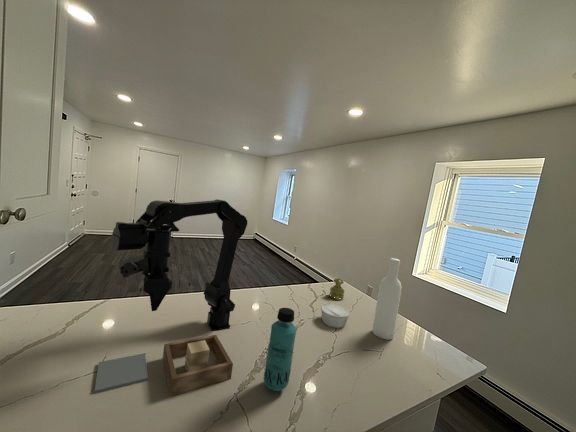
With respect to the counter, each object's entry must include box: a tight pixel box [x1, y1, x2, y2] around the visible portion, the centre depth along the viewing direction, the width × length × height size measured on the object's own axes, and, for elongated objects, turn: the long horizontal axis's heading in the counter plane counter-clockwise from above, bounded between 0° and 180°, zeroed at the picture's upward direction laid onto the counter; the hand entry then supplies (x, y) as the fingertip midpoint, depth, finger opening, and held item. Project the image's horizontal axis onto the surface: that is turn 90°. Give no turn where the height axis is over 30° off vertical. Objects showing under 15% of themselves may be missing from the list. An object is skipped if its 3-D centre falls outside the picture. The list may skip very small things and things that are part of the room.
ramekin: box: [321, 303, 350, 329], centre depth 102 cm, size 11×11×5 cm
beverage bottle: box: [263, 307, 297, 392], centre depth 62 cm, size 6×7×20 cm
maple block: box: [184, 340, 211, 373], centre depth 65 cm, size 4×4×6 cm
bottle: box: [372, 257, 403, 341], centre depth 97 cm, size 8×8×30 cm
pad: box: [94, 352, 149, 394], centre depth 60 cm, size 10×10×1 cm
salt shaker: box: [329, 278, 346, 301], centre depth 130 cm, size 7×7×10 cm
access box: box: [162, 334, 234, 397], centre depth 65 cm, size 14×14×4 cm
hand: (153, 303), depth 69 cm, fingers open, 9 cm apart
